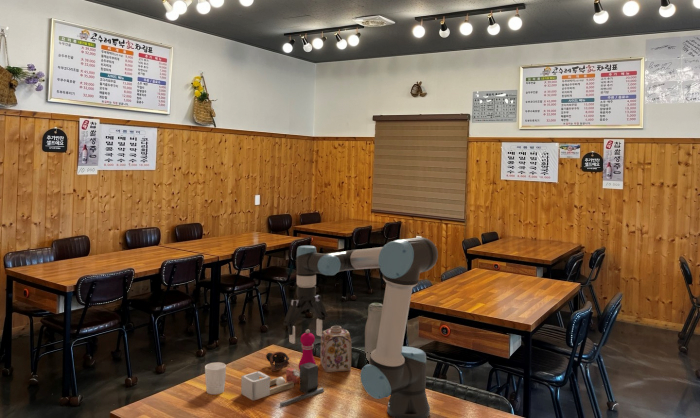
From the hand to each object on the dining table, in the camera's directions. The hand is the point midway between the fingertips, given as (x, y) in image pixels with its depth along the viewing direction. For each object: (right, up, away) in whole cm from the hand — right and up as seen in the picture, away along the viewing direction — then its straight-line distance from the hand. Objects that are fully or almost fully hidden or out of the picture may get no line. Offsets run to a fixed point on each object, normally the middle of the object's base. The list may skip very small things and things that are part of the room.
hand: (306, 339), depth 205 cm
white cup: (-35, -20, -2) cm, 40 cm away
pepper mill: (-1, -19, +14) cm, 24 cm away
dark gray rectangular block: (-2, -20, +3) cm, 20 cm away
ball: (-10, -18, +3) cm, 21 cm away
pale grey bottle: (+29, -19, +28) cm, 44 cm away
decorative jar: (+11, -19, +25) cm, 33 cm away
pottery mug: (-14, -19, +23) cm, 33 cm away
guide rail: (-1, -21, -8) cm, 22 cm away
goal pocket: (-19, -20, -5) cm, 28 cm away
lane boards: (-12, -20, +2) cm, 23 cm away
